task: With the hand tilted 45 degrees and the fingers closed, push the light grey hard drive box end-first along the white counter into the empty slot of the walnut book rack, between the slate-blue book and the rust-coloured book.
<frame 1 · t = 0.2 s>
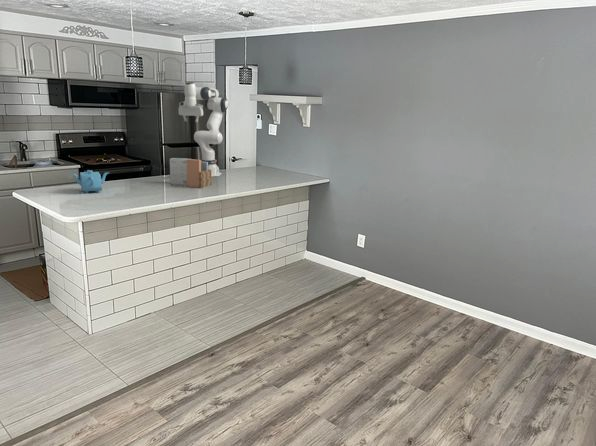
hand: (191, 121, 355), 48 cm above the worktop, tool pointing down, fingers open, 8 cm apart
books: (197, 185, 351), on the worktop
hard drive box: (181, 184, 354), on the worktop
teakettle: (91, 191, 312), on the worktop
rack: (205, 186, 349), on the worktop
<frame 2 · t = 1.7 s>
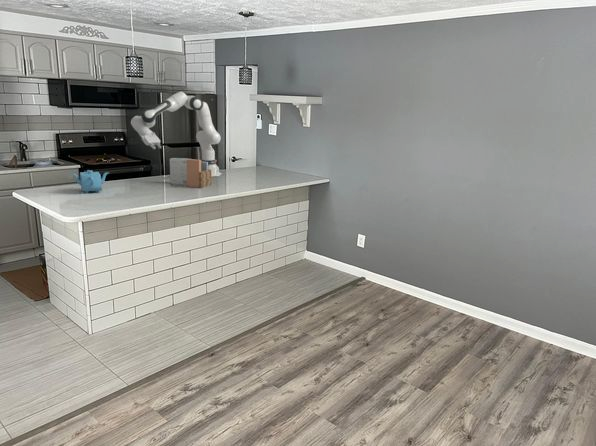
hand: (157, 148, 351), 26 cm above the worktop, tool tilted 45°, fingers open, 8 cm apart
nothing on the worktop moved.
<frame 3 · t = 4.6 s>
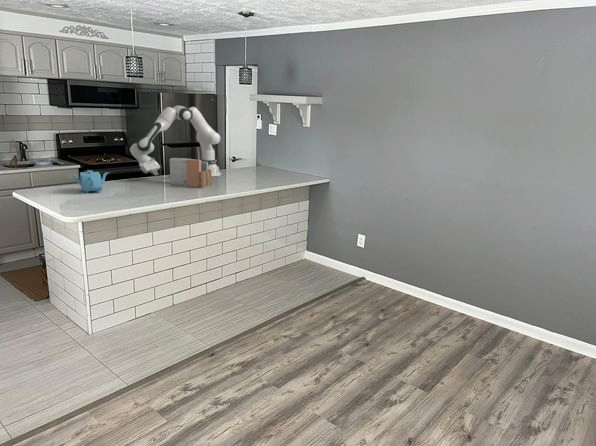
hand: (156, 174, 357), 5 cm above the worktop, tool tilted 45°, fingers closed
nothing on the worktop moved.
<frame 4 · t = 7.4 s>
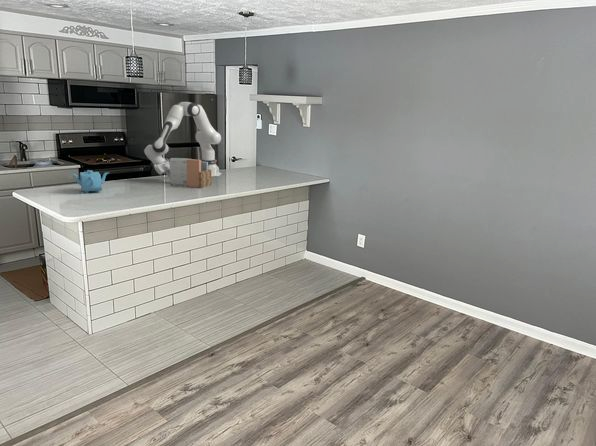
hand: (171, 176, 355), 5 cm above the worktop, tool tilted 45°, fingers closed
hard drive box: (181, 184, 354), on the worktop, touching gripper
everything else where it was.
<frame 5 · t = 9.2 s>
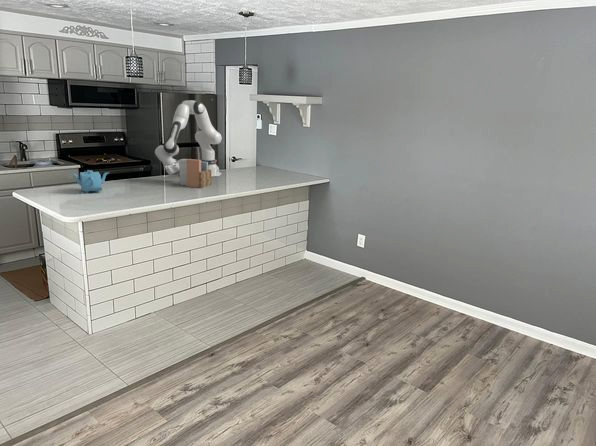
hand: (181, 177, 352), 5 cm above the worktop, tool tilted 45°, fingers closed, pressing on hard drive box
hard drive box: (190, 185, 351), on the worktop, touching gripper
everything else where it was.
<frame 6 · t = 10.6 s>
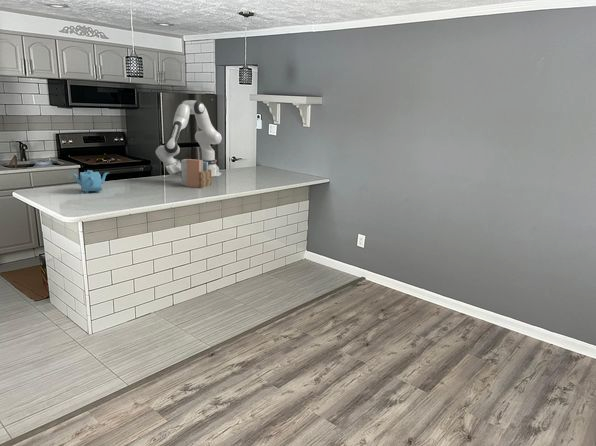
hand: (182, 177, 352), 5 cm above the worktop, tool tilted 45°, fingers closed
hard drive box: (192, 185, 351), on the worktop
everything else where it was.
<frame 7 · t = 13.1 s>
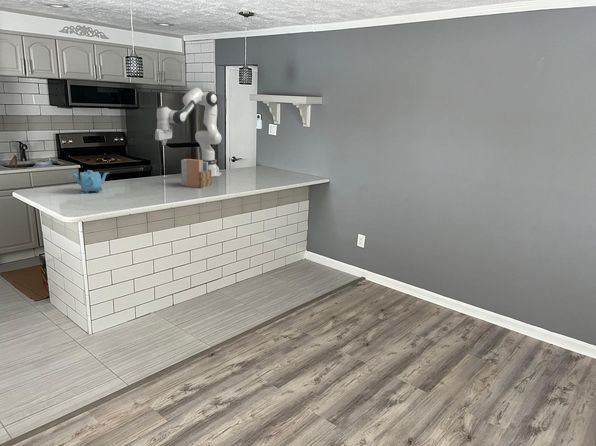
hand: (164, 145, 351), 29 cm above the worktop, tool pointing down, fingers closed
nothing on the worktop moved.
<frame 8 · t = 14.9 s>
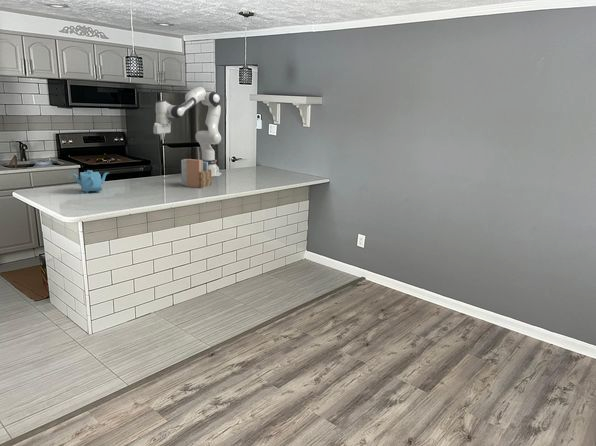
hand: (162, 139, 357), 33 cm above the worktop, tool pointing down, fingers closed
nothing on the worktop moved.
at the end: hard drive box inside the target area (1.2 cm from its centre), on the worktop; hard drive box tilted 0° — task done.
